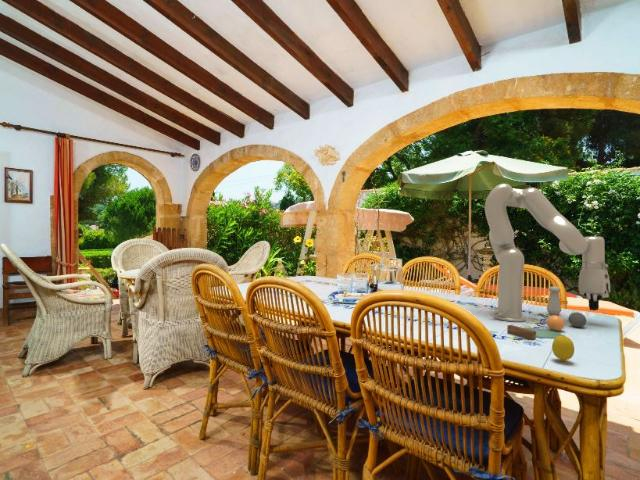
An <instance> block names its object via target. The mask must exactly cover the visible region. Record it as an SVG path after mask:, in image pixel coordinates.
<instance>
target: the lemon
mask: <svg viewBox="0 0 640 480" xmlns="http://www.w3.org/2000/svg"><path fill="white" fill-rule="evenodd" d="M551 351H552V353H553V355H554V357H556V358H557V359H559V360H560V361H561V362H565V361H567V360H570V359H572V358H573V357H574V354H575V344H574V342H573V340H572V339H571V338H569V336H566V335H565V334H562V335H561V336H558V337H556V338H553V341H552V345H551Z"/></svg>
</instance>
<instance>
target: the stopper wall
mask: <svg viewBox="0 0 640 480" xmlns="http://www.w3.org/2000/svg"><path fill="white" fill-rule="evenodd" d="M506 326H507V330H506V331H507V332H506V333H507V334H510V335H513V336H516V337H520V338H523V339H525V340H529V341H535V340H537V337H536V331H533V330H529V329H525V328H526V327H521V326H518V325H514V324H507V325H506Z"/></svg>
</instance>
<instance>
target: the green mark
mask: <svg viewBox="0 0 640 480" xmlns="http://www.w3.org/2000/svg"><path fill="white" fill-rule="evenodd" d="M524 328H525V329H529V330H533V331H536V338H543V339H555V338H556V337H558V336H561V335H563V334H561V332H559V331H554V330H551V329H546V328H540V327H524Z"/></svg>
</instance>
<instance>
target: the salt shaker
mask: <svg viewBox="0 0 640 480" xmlns="http://www.w3.org/2000/svg"><path fill="white" fill-rule="evenodd" d="M548 291H549V292H550V293H549V298H548V300H547V306H546V310H547V313H548V314H549V315H550V316H552V315H557V316H560V313H561V312H562V306H561V300H560V296H559V295H560V294H559V293H561V292H560V291H561V289H560V287H558V286H550V287H549V289H548Z"/></svg>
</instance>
